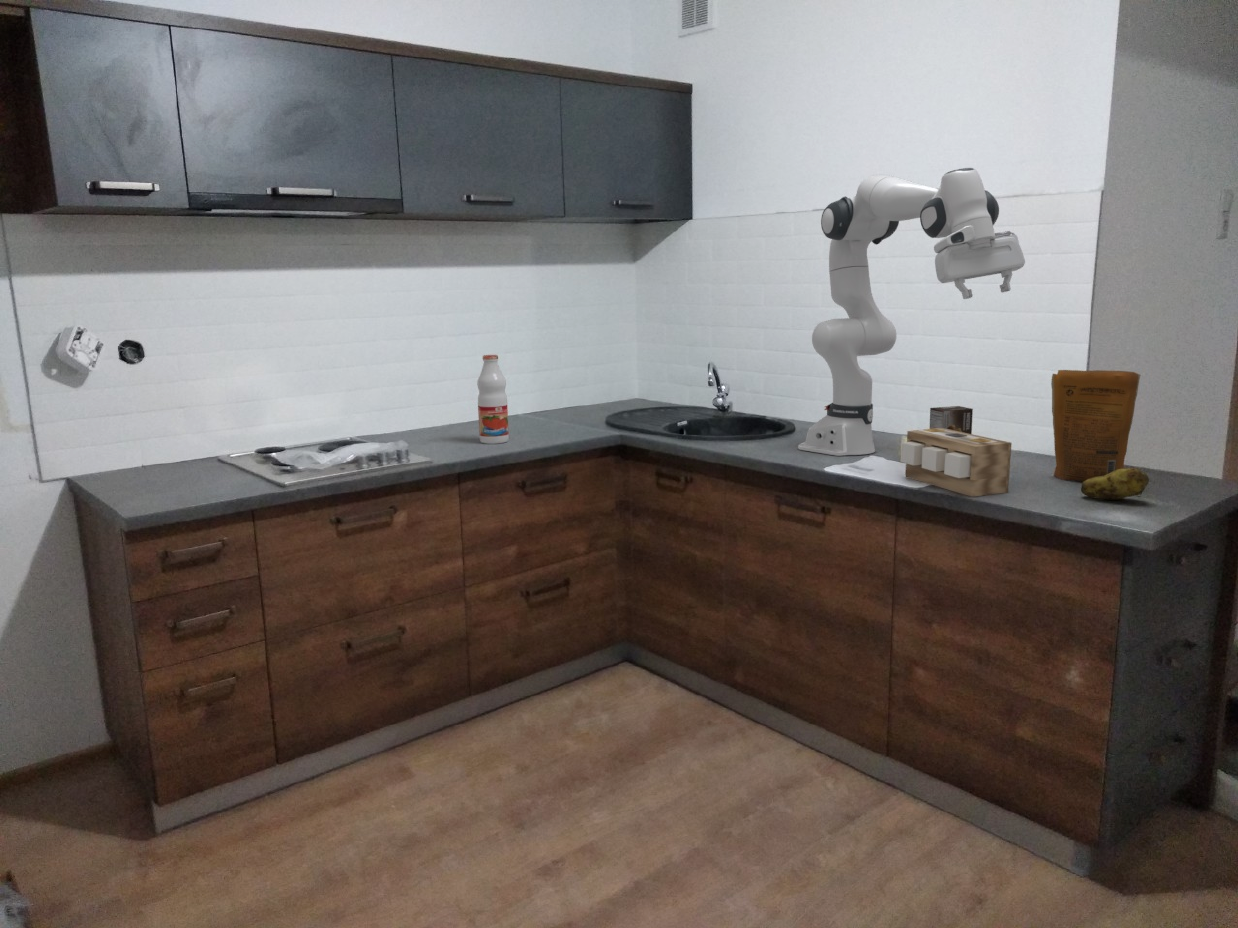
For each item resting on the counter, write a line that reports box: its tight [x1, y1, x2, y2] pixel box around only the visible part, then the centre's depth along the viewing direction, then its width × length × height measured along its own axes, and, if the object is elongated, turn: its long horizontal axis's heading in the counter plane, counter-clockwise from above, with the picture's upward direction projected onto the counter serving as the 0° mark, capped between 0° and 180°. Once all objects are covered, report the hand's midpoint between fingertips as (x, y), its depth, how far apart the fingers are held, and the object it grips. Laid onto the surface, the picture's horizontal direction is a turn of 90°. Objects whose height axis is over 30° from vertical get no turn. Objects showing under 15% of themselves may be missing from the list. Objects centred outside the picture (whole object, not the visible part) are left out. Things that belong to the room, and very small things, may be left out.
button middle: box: [922, 446, 948, 472], centre depth 224 cm, size 9×5×5 cm, turn 112°
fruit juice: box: [476, 354, 510, 445], centre depth 294 cm, size 9×9×28 cm
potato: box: [1080, 467, 1150, 500], centre depth 208 cm, size 8×13×8 cm, turn 38°
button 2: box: [944, 452, 972, 478], centre depth 217 cm, size 9×5×5 cm, turn 112°
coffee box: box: [929, 405, 974, 434], centre depth 246 cm, size 9×6×16 cm
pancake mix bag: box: [1050, 369, 1141, 483], centre depth 224 cm, size 7×19×28 cm, turn 47°
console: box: [904, 428, 1013, 498], centre depth 226 cm, size 11×24×12 cm, turn 22°
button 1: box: [899, 441, 925, 465], centre depth 232 cm, size 9×5×5 cm, turn 112°
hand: (987, 294), depth 209 cm, fingers open, 8 cm apart
